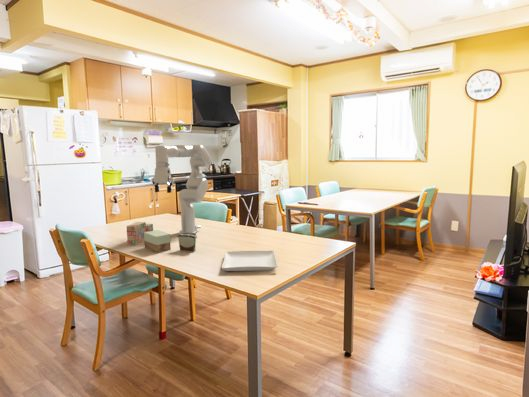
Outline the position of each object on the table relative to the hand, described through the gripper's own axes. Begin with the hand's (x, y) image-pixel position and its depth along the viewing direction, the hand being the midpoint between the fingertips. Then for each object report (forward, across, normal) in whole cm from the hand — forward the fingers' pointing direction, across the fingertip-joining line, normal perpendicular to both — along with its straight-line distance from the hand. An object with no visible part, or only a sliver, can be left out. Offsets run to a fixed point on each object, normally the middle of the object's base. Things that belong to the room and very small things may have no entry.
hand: (163, 192), depth 216 cm
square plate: (+34, -70, +19) cm, 80 cm away
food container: (+33, -26, +9) cm, 43 cm away
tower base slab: (+33, -6, +14) cm, 37 cm away
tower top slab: (+28, -6, +14) cm, 32 cm away
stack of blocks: (+33, +17, +3) cm, 37 cm away
